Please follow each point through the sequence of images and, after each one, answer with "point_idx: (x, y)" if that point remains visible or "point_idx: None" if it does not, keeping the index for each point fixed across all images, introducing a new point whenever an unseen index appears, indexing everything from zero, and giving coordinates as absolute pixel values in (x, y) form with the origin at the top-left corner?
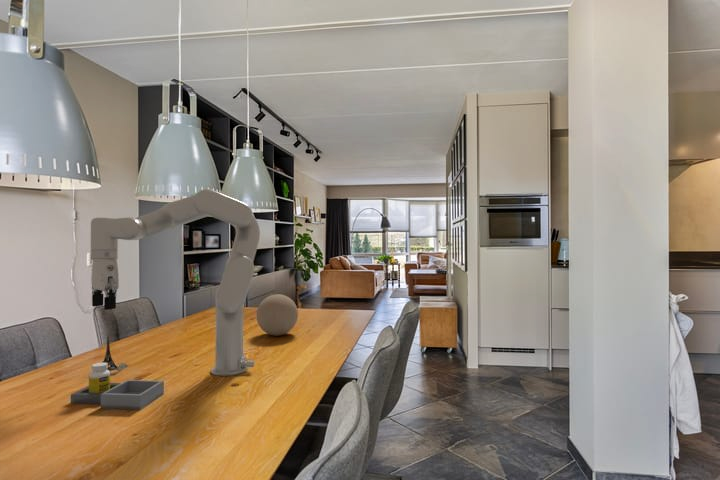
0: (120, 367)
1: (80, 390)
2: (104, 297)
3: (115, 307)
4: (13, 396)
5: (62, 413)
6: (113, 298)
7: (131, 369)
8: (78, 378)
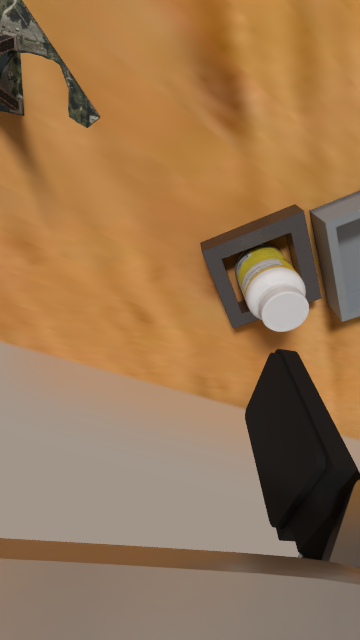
0: (2, 14)
1: (228, 305)
2: (281, 537)
3: (297, 356)
4: (66, 350)
5: (268, 347)
6: (353, 474)
7: (76, 4)
8: (33, 206)
